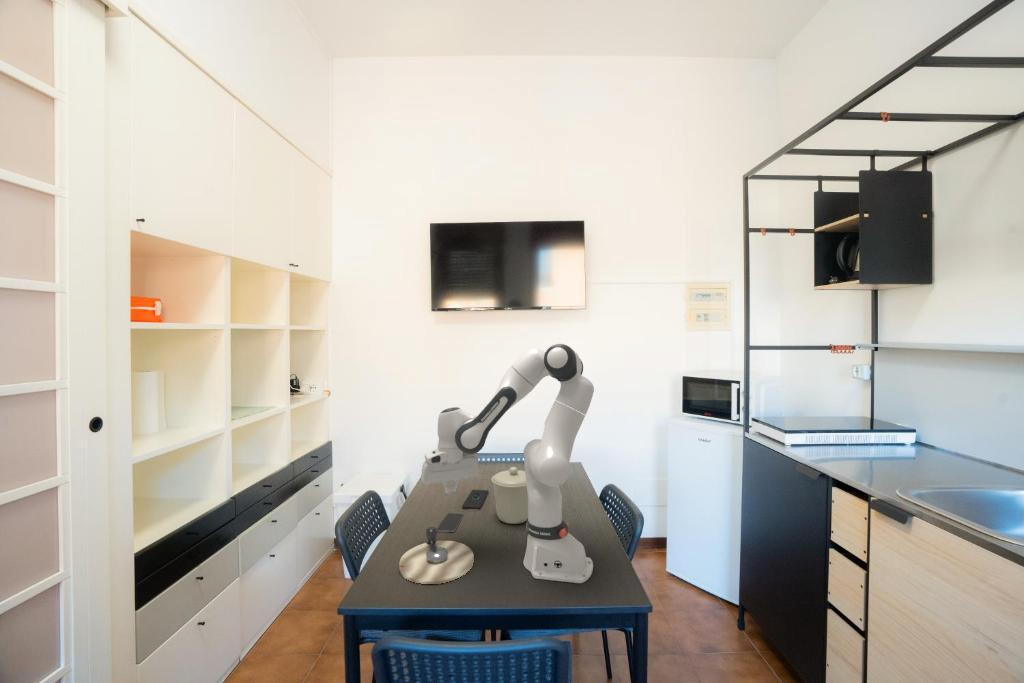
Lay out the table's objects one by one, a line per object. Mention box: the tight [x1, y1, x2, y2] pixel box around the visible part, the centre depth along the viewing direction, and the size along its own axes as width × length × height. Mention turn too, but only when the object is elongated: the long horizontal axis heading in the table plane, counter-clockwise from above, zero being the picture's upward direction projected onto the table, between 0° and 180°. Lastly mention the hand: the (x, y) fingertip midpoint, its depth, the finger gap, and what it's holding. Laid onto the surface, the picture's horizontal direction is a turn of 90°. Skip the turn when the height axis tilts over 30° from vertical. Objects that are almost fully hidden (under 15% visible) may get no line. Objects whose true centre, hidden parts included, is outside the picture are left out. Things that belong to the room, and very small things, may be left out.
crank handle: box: [425, 526, 448, 564], centre depth 139 cm, size 14×7×6 cm, turn 23°
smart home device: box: [461, 489, 489, 511], centre depth 188 cm, size 8×2×20 cm
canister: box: [490, 466, 528, 525], centre depth 169 cm, size 18×18×21 cm
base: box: [398, 540, 475, 585], centre depth 136 cm, size 24×24×2 cm
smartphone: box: [436, 512, 465, 533], centre depth 165 cm, size 7×1×16 cm
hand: (450, 492), depth 147 cm, fingers closed
